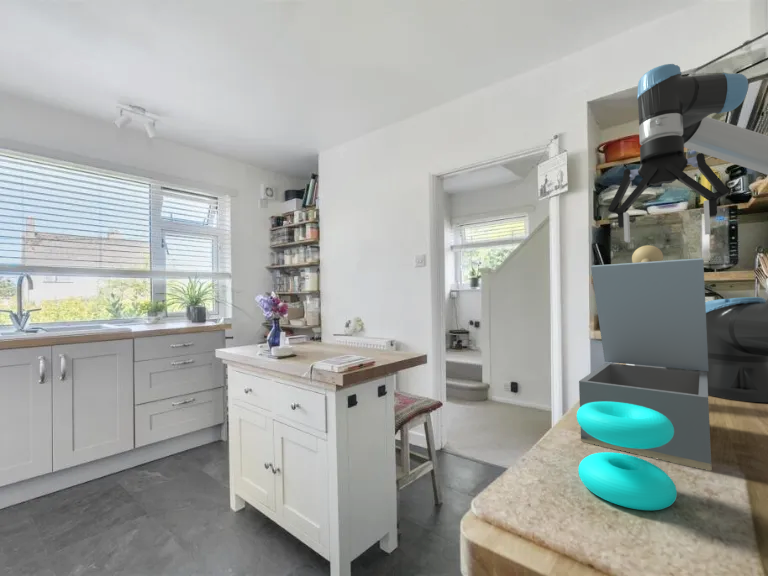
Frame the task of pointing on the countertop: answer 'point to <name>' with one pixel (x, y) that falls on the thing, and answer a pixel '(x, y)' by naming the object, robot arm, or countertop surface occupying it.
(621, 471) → the donuts
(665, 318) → the flap
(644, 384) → the carton
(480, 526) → the countertop surface
